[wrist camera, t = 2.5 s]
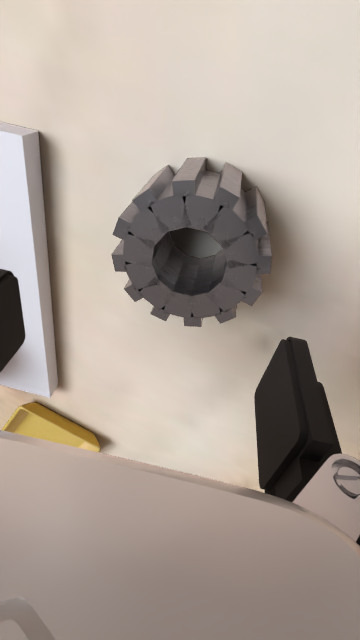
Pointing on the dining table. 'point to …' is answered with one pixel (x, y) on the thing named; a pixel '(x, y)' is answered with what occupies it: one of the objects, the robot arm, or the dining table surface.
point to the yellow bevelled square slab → (50, 427)
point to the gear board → (27, 259)
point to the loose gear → (186, 271)
